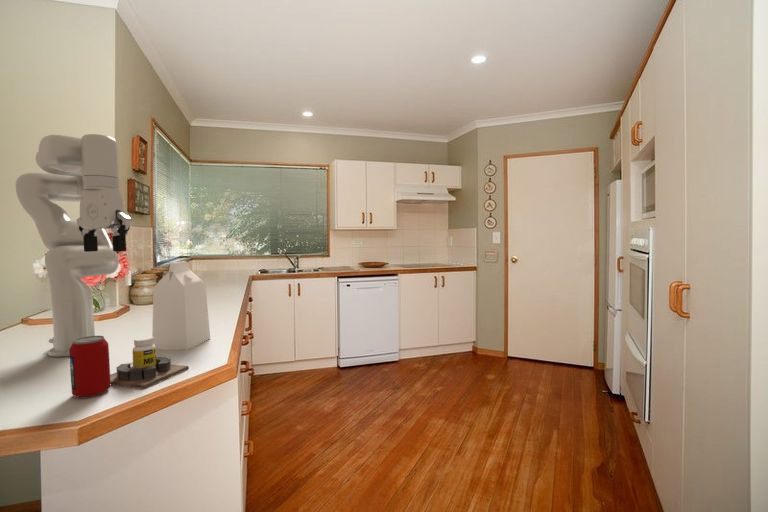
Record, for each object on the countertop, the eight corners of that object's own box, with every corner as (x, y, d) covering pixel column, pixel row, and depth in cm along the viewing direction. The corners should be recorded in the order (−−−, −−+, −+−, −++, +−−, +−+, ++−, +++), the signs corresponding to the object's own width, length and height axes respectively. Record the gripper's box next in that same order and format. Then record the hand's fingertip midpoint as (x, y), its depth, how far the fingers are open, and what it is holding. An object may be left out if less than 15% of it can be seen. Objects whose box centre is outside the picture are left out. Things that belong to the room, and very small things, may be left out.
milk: (178, 338, 128) (175, 260, 127) (210, 338, 127) (207, 260, 125) (152, 348, 116) (148, 263, 115) (186, 349, 115) (183, 263, 113)
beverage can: (86, 387, 86) (83, 335, 86) (117, 386, 87) (114, 334, 86) (63, 400, 80) (60, 343, 79) (98, 398, 80) (94, 342, 80)
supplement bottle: (144, 376, 91) (143, 341, 90) (128, 375, 92) (126, 340, 91) (161, 369, 95) (159, 336, 95) (145, 368, 96) (143, 335, 96)
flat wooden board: (96, 383, 89) (95, 370, 89) (145, 364, 102) (144, 353, 101) (144, 388, 85) (143, 375, 85) (188, 368, 98) (188, 357, 98)
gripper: (61, 184, 97) (65, 252, 98) (113, 181, 92) (117, 252, 93) (91, 188, 104) (94, 250, 105) (141, 185, 100) (144, 250, 100)
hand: (105, 251), depth 99 cm, fingers open, 9 cm apart
